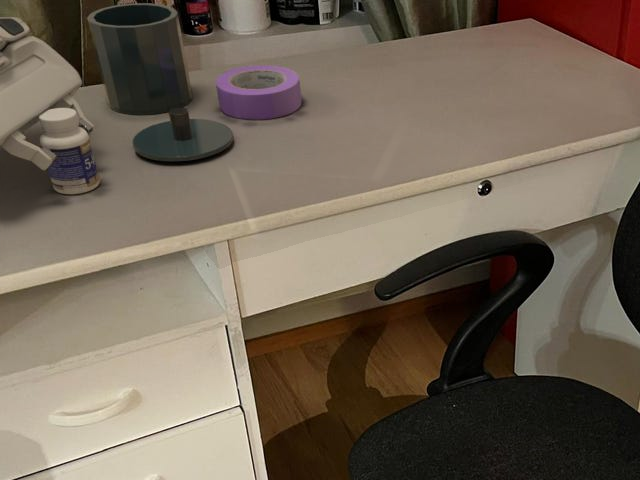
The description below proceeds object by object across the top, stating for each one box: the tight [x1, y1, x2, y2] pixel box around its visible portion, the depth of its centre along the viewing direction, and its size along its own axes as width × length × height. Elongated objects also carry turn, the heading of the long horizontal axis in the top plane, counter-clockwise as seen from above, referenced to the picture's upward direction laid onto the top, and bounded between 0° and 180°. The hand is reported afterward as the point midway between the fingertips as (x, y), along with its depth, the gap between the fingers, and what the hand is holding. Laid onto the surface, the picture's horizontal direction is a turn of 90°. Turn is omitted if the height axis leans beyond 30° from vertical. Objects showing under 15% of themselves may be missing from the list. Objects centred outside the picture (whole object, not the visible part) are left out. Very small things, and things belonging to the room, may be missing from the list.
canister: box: [86, 2, 193, 116], centre depth 122 cm, size 12×12×12 cm
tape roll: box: [215, 64, 303, 121], centre depth 124 cm, size 12×12×4 cm
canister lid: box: [132, 107, 234, 162], centre depth 112 cm, size 13×13×5 cm
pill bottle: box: [39, 108, 101, 195], centre depth 101 cm, size 5×5×9 cm
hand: (71, 148), depth 100 cm, fingers open, 7 cm apart
